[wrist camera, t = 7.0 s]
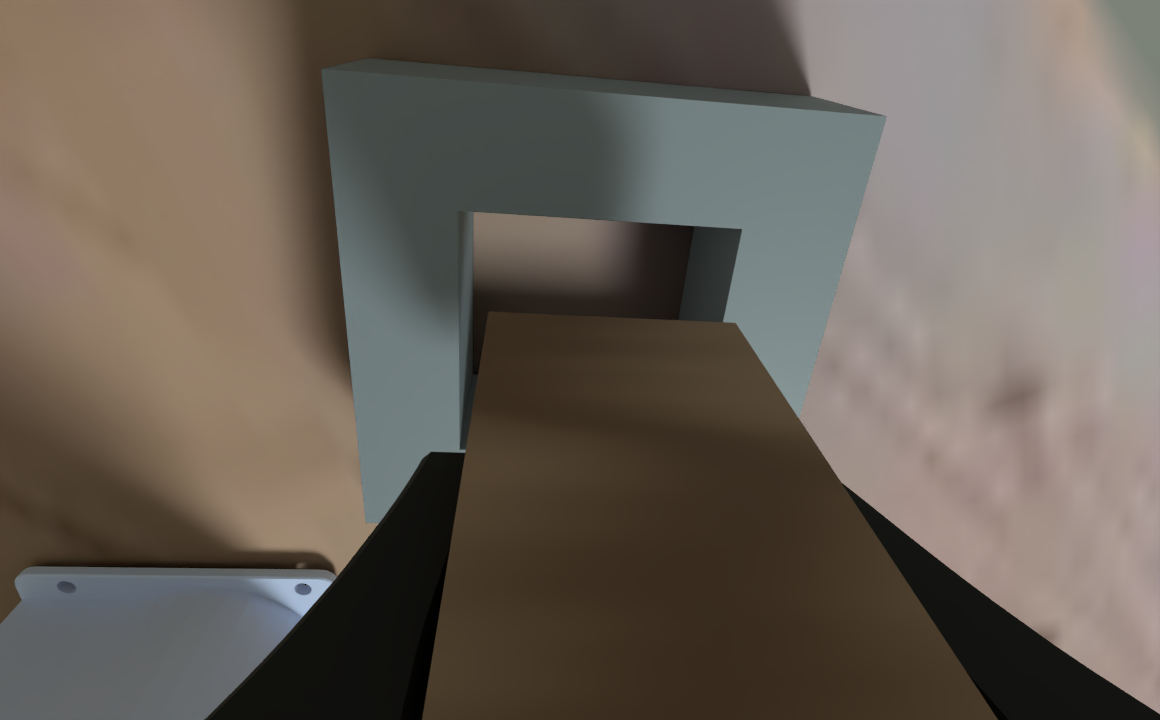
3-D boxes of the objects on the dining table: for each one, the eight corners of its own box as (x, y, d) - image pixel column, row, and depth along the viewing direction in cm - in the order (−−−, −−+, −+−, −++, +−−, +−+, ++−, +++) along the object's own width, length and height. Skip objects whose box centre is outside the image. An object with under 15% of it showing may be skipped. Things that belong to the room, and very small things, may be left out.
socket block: (393, 438, 18) (365, 522, 15) (369, 58, 14) (321, 69, 11) (729, 448, 19) (766, 530, 16) (812, 96, 15) (886, 116, 12)
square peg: (486, 507, 12) (432, 1036, 6) (487, 311, 10) (412, 783, 4) (695, 511, 12) (858, 1011, 6) (735, 322, 10) (1030, 769, 4)
